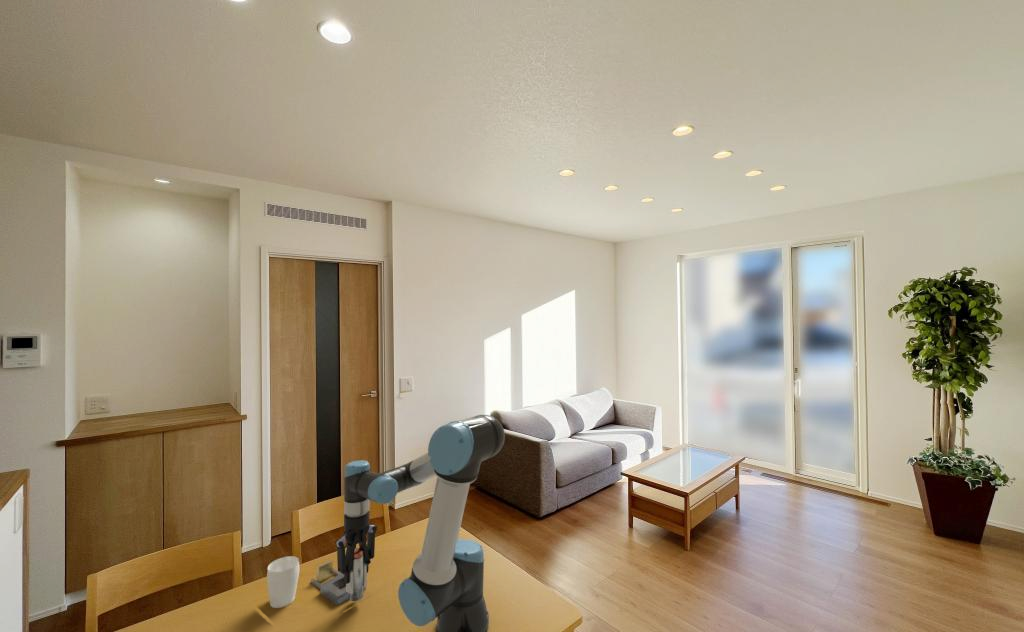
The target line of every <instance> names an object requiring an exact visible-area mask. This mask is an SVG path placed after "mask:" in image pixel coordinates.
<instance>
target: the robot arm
mask: <svg viewBox="0 0 1024 632" xmlns="http://www.w3.org/2000/svg"><path fill="white" fill-rule="evenodd" d="M505 439H506V435H505V430H504V427H503V425H502V423H501V422H500V421H499V420H498V419H497V418H496V417H494V416H493V415H489V414H478V415H476V416H472V417H469V418H465V419H460V420H454V421H450V422H448V423H446V424H444V425H441V426H440V427H438V428H437V429H436V430H435V431H434V432H433V433H432V435H431V437H430V439H429V442H428V447H427V452H426V453H425V454H422V455H421V456H418V457H416V458H415V459H413V460H411V461H409V462H408V463H405V464H402V465H400V466H396V467H394V468H391V469H388V470H385V471H382V472H374V471H371V466H370V465H371V464H370V462H369V461H368V460H365V459H364V460H363V459H362V460H359V459H358V460H353V461H351V462H349V463H346V465H345V466H344V476H343V482H344V483H343V484H344V485H343V486H344V487H343V488H344V489H343V495H344V496H343V497H344V500H343V501H344V503H343V504H344V506H343V507H344V511H343V514H344V515H343V527H344V532H343V534H342V536H341V537H340V539H336V540H335V542H334V544H335V546H336V554H337V555H336V559H337V561H336V563H337V571H338V572H340V573H341V574H344V582H345V583H346V584H345V587H346V592H348V593H349V594H353V571H352V570H351V568H352V562H353V556H354V550H355V548H357V544H358V548H361V549H363V586H364V587H365V586H366V587H367V582H368V581H367V574H368V573H369V565H370V564H371V563H372V561H371V560H373V559H374V558H375V548H376V546H375V545H376V532H377V529H378V527H377V526H376V525H374V524H370V504H371V503H370V501H371V502H373V503H378V504H382V505H386V504H389V503H391V502H392V501H393V500H394V499H395V498H396V497H397V494H399V493H401V492H403V491H406V490H409V489H410V488H413V487H417V486H419V485H421V484H423V483H425V482H427V481H428V480H429V479H433V478H434V477H437V479H436V482H435V487H434V493H433V497H432V502H431V505H430V506H431V507H430V512H429V516H428V521H427V525H426V529H425V530H426V531H425V533H424V534H425V535H424V539H423V542H422V543H423V544H422V549H421V553H420V554H418V555H417V556H416V557H415V558H414V561H413V563H412V568H411V573H410V575H409V577H406V578H405V579H404V580H402V582H401V583H399V586H398V591H397V592H398V593H397V594H398V595H397V597H398V602H399V605H400V607H401V609H402V612H403V614H404V615H405V617H406V618H407V620H408V621H409V622H410V623H411V624H413V625H415V626H417V627H425V626H427V625H428V624H429V623H431V622H433V621H435V620H436V629H437V632H485V631H486V630H487V631H488V629H489V626H488V625H490V615H489V610H488V608H487V604H486V600H485V597H484V564H485V557H484V555H485V554H484V548H483V546H482V544H480V543H478V542H477V541H475V540H473V539H467V538H459V535H460V532H461V525H462V522H463V521H462V520H463V516H464V513H465V508H466V503H467V498H468V494H469V490H470V485H471V484H472V483H474V482H475V481H476V480H477V479H478V477H479V472H480V468H481V464H482V462H483V461H486V460H488V459H490V458H492V457H493V458H494V456H496V455H497V454H498V453H499V452H500V451H501V449H502V447H504V443H505ZM345 546H346V547H345ZM487 628H488V629H487ZM487 631H486V632H487Z"/></svg>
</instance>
